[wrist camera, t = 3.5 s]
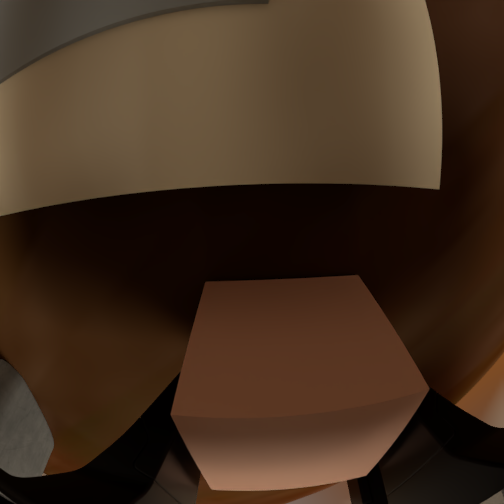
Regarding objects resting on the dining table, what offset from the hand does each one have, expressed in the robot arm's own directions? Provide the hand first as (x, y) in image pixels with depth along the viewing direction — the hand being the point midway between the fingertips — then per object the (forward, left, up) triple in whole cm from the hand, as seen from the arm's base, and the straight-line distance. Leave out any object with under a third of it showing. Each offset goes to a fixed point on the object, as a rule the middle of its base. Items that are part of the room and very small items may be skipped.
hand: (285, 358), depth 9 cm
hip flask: (+21, +11, -1) cm, 24 cm away
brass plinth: (+5, -14, -1) cm, 15 cm away
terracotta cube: (0, 0, -1) cm, 1 cm away
